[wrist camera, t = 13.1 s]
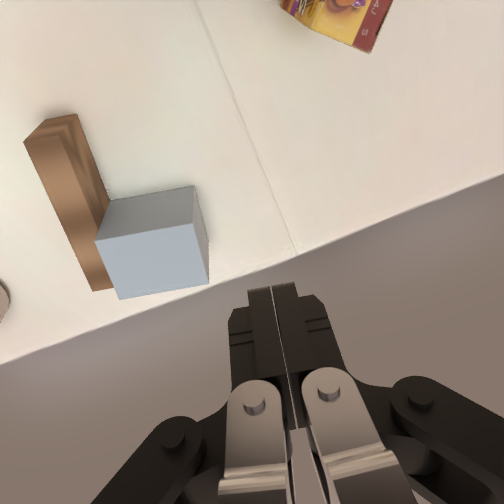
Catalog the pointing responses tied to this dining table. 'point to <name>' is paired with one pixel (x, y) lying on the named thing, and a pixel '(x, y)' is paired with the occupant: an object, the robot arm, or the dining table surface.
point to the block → (154, 243)
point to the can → (3, 302)
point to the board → (72, 189)
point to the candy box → (342, 19)
